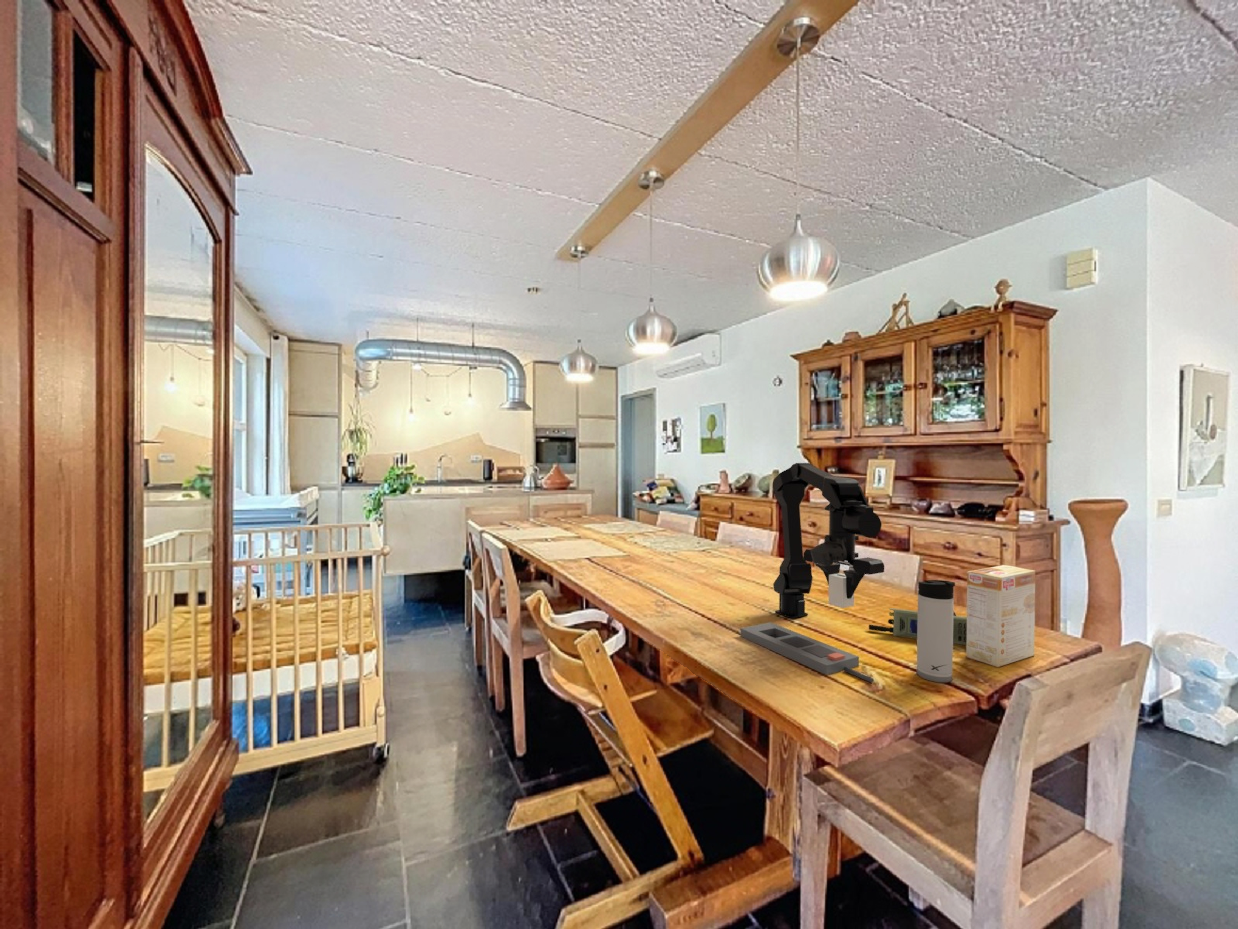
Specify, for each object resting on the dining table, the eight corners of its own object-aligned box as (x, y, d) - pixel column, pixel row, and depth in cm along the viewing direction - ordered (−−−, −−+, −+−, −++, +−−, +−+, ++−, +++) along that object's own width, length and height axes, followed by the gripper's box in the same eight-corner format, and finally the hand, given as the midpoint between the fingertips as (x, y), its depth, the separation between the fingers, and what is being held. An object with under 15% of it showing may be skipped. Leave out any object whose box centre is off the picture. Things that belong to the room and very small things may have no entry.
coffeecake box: (1001, 645, 125) (1002, 564, 125) (1036, 656, 119) (1037, 570, 118) (963, 656, 118) (965, 570, 118) (998, 668, 112) (1000, 577, 112)
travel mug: (942, 686, 103) (943, 584, 103) (910, 673, 109) (911, 577, 108) (960, 680, 106) (962, 581, 105) (928, 668, 112) (930, 574, 111)
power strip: (740, 636, 131) (740, 625, 131) (770, 630, 136) (770, 620, 136) (856, 688, 102) (856, 675, 102) (889, 678, 107) (889, 665, 107)
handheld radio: (986, 650, 123) (868, 634, 134) (983, 646, 126) (868, 630, 137) (987, 621, 123) (869, 607, 134) (984, 618, 126) (869, 604, 137)
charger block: (828, 603, 127) (828, 574, 127) (839, 601, 129) (840, 572, 129) (842, 608, 123) (842, 577, 123) (853, 605, 125) (854, 576, 125)
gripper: (787, 528, 130) (787, 591, 130) (853, 539, 114) (852, 611, 114) (819, 525, 135) (818, 586, 136) (886, 535, 119) (885, 604, 119)
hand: (841, 596), depth 126 cm, fingers closed on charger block, 4 cm apart
